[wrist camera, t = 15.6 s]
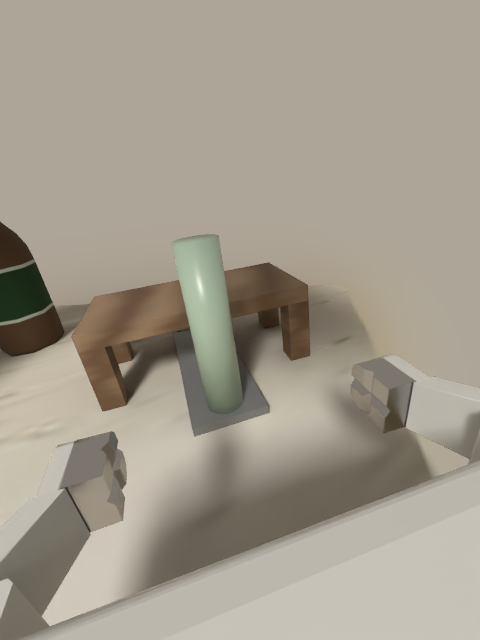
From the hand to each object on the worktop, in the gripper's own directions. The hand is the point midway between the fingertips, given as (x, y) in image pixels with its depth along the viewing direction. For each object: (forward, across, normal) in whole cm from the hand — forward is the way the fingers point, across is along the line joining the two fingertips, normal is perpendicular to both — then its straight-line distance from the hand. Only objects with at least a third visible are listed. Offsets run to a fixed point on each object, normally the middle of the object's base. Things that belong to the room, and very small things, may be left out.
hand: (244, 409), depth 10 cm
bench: (+20, 0, +10) cm, 23 cm away
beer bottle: (+35, +22, +10) cm, 43 cm away
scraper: (+18, -1, +10) cm, 20 cm away
